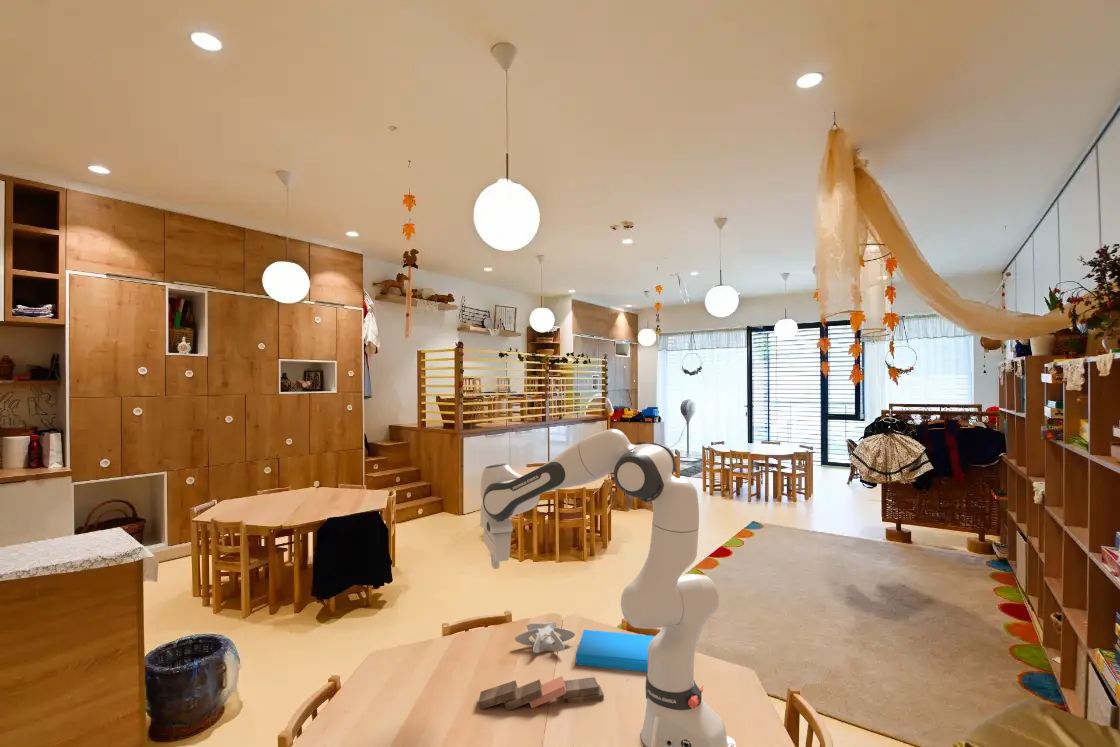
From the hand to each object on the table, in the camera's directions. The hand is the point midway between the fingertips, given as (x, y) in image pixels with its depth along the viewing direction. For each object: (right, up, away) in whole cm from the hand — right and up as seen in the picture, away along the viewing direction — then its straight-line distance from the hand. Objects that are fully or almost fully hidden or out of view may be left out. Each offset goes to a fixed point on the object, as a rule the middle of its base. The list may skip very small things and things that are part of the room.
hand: (495, 567), depth 157 cm
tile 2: (+4, -32, -12) cm, 34 cm away
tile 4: (+19, -31, -8) cm, 37 cm away
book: (+38, -34, +15) cm, 53 cm away
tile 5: (+21, -33, -8) cm, 40 cm away
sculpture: (+14, -34, +21) cm, 42 cm away
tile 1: (-3, -32, -11) cm, 34 cm away
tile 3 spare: (+11, -32, -11) cm, 35 cm away
